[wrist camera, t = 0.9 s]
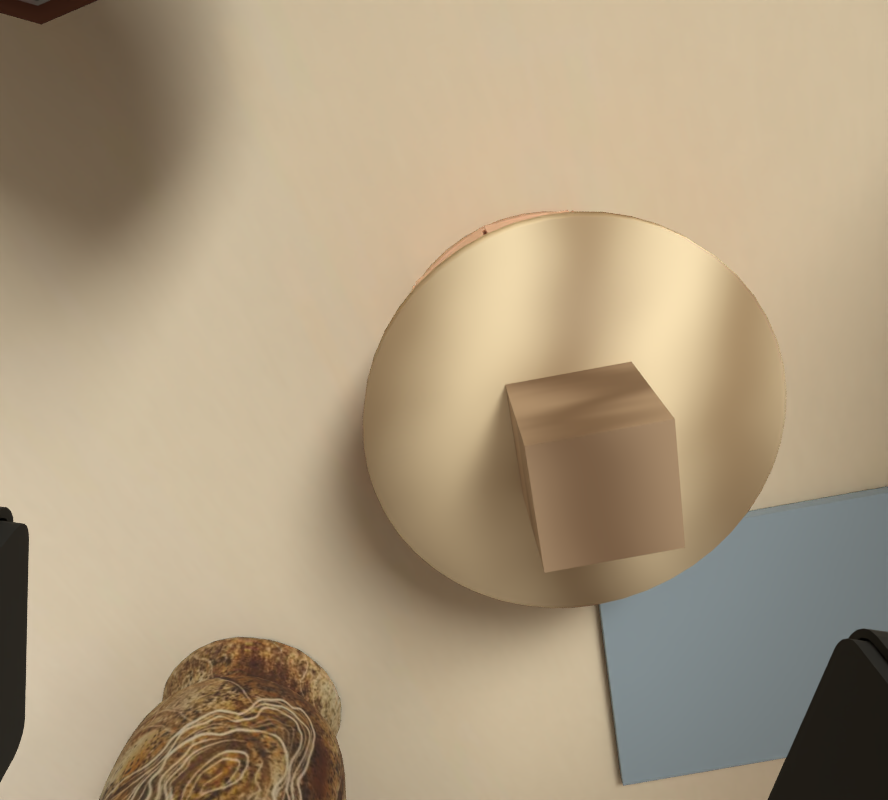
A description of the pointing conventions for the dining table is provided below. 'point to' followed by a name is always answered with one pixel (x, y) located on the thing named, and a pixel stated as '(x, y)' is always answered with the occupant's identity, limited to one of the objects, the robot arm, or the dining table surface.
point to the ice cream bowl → (40, 8)
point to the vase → (237, 730)
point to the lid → (573, 409)
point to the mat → (743, 636)
